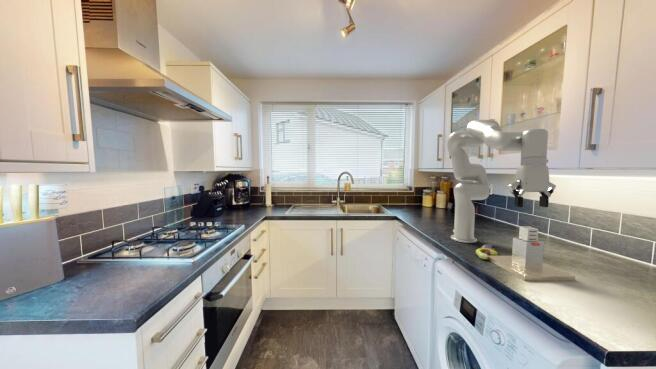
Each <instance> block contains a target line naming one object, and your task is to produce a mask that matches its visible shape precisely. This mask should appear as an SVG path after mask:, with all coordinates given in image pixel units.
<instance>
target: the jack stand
mask: <svg viewBox="0 0 656 369" xmlns="http://www.w3.org/2000/svg"><path fill="white" fill-rule="evenodd" d="M511 247H512V249H511V255H497V256H490V255H489V256H488V259H486V260H488V261H489V262H491V263H493V264H495V265H496V266H498V267H500V268H502V269H503V270H505V271H507V272H508V273H511V274H512V275H514V276H516V277H517V278H518V279H521V280H522V281H525V282H526V281H527V282H528V281H529V282H531V281H533V282H534V281H536V282H542V281H543V282H545V281H547V282H550V281H552V282H553V281H554V282H555V281H557V282H559V281H560V282H562V281H563V282H565V281H566V282H569V281H570V282H573V281H576V276H575V275H573V274H571V273H568V272H566V271H563V270H562V269H559V268H556V267H555V266H552V265H550V264H548V263H545V262H544V248H545V242H543V241H539V240H538V242H525V241H523V240H520V239H519V237H512V246H511Z"/></svg>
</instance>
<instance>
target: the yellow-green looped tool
mask: <svg viewBox="0 0 656 369" xmlns="http://www.w3.org/2000/svg"><path fill="white" fill-rule="evenodd" d="M494 246H498V244H496V243H493V244H491V243H490V244H483V245H482V246H481V247H480V248H477V249H476V250H475V254H476V255H477V256H478V257H479V258H480V259H481V260H487V259H488V256H498V251H496V248H493V247H494Z"/></svg>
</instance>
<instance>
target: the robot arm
mask: <svg viewBox="0 0 656 369" xmlns="http://www.w3.org/2000/svg"><path fill="white" fill-rule="evenodd" d="M548 140H549V132H548V130H547V129H545V128H533V129H527V130H524V131H523V132H522V131H503V129H502V126H501V125H500V124H499V122H498V121H496V120H494V119H474V120H472V121H470V122H469V123H468V124H467V126H466V131H463V130H459V131H454V132H452V133H450V134H449V135H448V138H447V142H446V145H447V147H446V148H447V150H448V153H449V156H450V159H451V164H452V170H453V172H452V173H453V176H454V179H455V180H457V181H460V182H459V183H457V184H455V186H454V187H453V196H454V224H453V227H454V228H453V230H452V232H453V234H451V235H450V239H451V240H453V241H456V242H459V243H465V244H466V243H467V244H473V243H477V242H478V239H477V238H476V237H474V236H475V220H476V219H475V217H476V214H475V213H476V208H475V205H474V203H473V202H472V201H483V200H486V199H488V198H489V196H490V192H491V191H490V184H489V180H488V175H487V171H486V168H485V167H484V166H483V165H482V164H479V163H471V162H470V159H469V154H468V153H467V152H466V150H465V149H464V148H478V147H480V146H483V145H484V144H485V146H487V147H489V148H492V149H493V150H494V149H495V150H498V151H511V152H512V151H515V152H520V165H519V166H518V167H517V170H516V172H515V179H514V182H512V183H511V184H509V185H508V188H509V190H510V193H511V194H512V196H513V197H514V207H517V208H523V207H524V197H523V195H524V194H525V193H539V194H540V196H539V203H538V206H539V207H543V208H548V207H549V201H550V197H551V196H552V194H553V193H554V191H555V189H556V188H557V185H556V184H554V183H553V182H551V181H550V172H549V166H548V165H547V163H549V159H548V158H547V156H548V143H549V142H548ZM463 147H464V148H463ZM461 181H463V182H461ZM465 181H467V182H465ZM468 181H469V182H468Z"/></svg>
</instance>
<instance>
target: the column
mask: <svg viewBox="0 0 656 369" xmlns="http://www.w3.org/2000/svg"><path fill="white" fill-rule="evenodd" d="M518 229H519V231H518V238H519V239H520V240H523V241H525V242H538V241H539V228H537V227H533V226H529V225H527V226H525V225H524V226H523V225H522V226H521V225H520V226H519V228H518Z"/></svg>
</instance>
